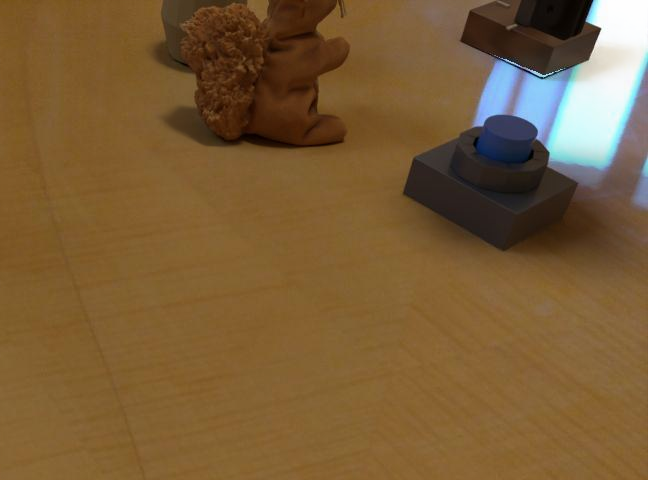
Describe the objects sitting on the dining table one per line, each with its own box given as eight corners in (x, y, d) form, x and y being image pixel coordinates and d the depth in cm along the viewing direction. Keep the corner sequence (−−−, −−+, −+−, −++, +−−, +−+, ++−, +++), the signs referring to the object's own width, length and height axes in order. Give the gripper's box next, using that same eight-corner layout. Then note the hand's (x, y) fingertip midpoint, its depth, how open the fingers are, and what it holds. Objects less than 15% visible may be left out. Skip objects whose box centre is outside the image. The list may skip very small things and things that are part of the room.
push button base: (562, 219, 80) (588, 160, 76) (502, 251, 76) (526, 192, 73) (463, 165, 85) (483, 107, 81) (402, 193, 81) (419, 135, 77)
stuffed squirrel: (354, 142, 86) (394, -21, 76) (204, 163, 83) (226, -6, 73) (302, 90, 92) (334, -69, 82) (161, 107, 89) (175, -56, 79)
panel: (592, 57, 100) (606, 25, 98) (538, 80, 96) (551, 47, 94) (510, 21, 105) (521, -11, 102) (456, 42, 101) (466, 9, 98)
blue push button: (538, 156, 77) (548, 130, 75) (507, 171, 75) (517, 145, 74) (496, 134, 79) (505, 109, 77) (465, 149, 77) (473, 123, 76)
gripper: (664, -278, 51) (535, 79, 65) (803, -306, 58) (658, 25, 72) (541, -306, 55) (444, 38, 69) (685, -329, 61) (569, -11, 75)
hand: (554, 30), depth 70 cm, fingers closed
